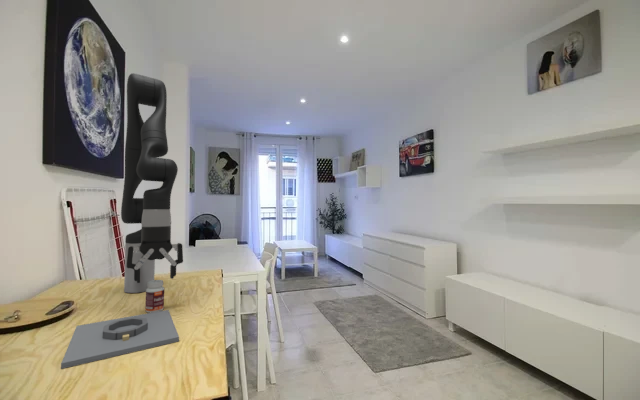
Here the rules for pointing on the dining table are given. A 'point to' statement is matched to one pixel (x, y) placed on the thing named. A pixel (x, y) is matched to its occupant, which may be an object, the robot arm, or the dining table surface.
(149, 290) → the pill bottle
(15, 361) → the dining table surface
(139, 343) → the socket
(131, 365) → the dining table surface
